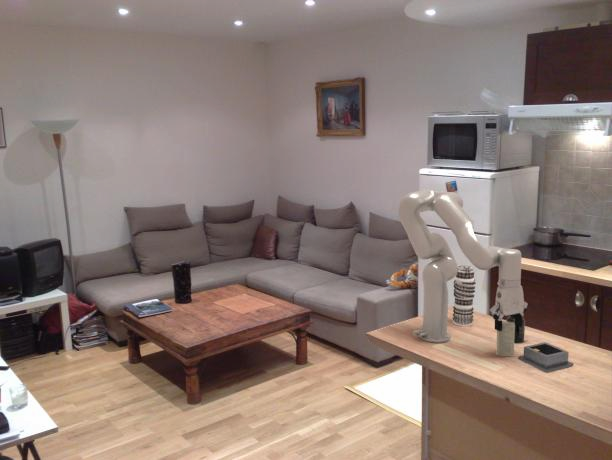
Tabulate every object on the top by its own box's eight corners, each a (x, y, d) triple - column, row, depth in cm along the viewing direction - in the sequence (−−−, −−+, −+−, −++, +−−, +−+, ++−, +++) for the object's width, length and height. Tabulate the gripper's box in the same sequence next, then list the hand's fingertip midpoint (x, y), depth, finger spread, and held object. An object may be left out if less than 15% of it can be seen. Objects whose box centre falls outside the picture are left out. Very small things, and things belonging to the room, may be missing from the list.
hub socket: (546, 372, 192) (547, 357, 191) (517, 359, 204) (518, 344, 203) (573, 366, 198) (574, 351, 197) (543, 353, 209) (544, 338, 208)
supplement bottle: (521, 337, 225) (523, 308, 223) (526, 343, 219) (528, 314, 217) (503, 336, 226) (505, 308, 224) (508, 343, 219) (509, 313, 217)
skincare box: (513, 353, 210) (515, 322, 207) (513, 357, 205) (515, 325, 203) (495, 350, 212) (497, 320, 210) (495, 355, 208) (497, 324, 205)
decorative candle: (477, 322, 243) (479, 266, 239) (468, 327, 236) (471, 270, 232) (457, 317, 249) (459, 263, 245) (448, 323, 242) (450, 267, 238)
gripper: (498, 288, 197) (497, 335, 199) (535, 282, 204) (533, 327, 206) (483, 283, 203) (483, 329, 206) (519, 277, 211) (518, 321, 213)
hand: (508, 328), depth 206 cm, fingers open, 9 cm apart
